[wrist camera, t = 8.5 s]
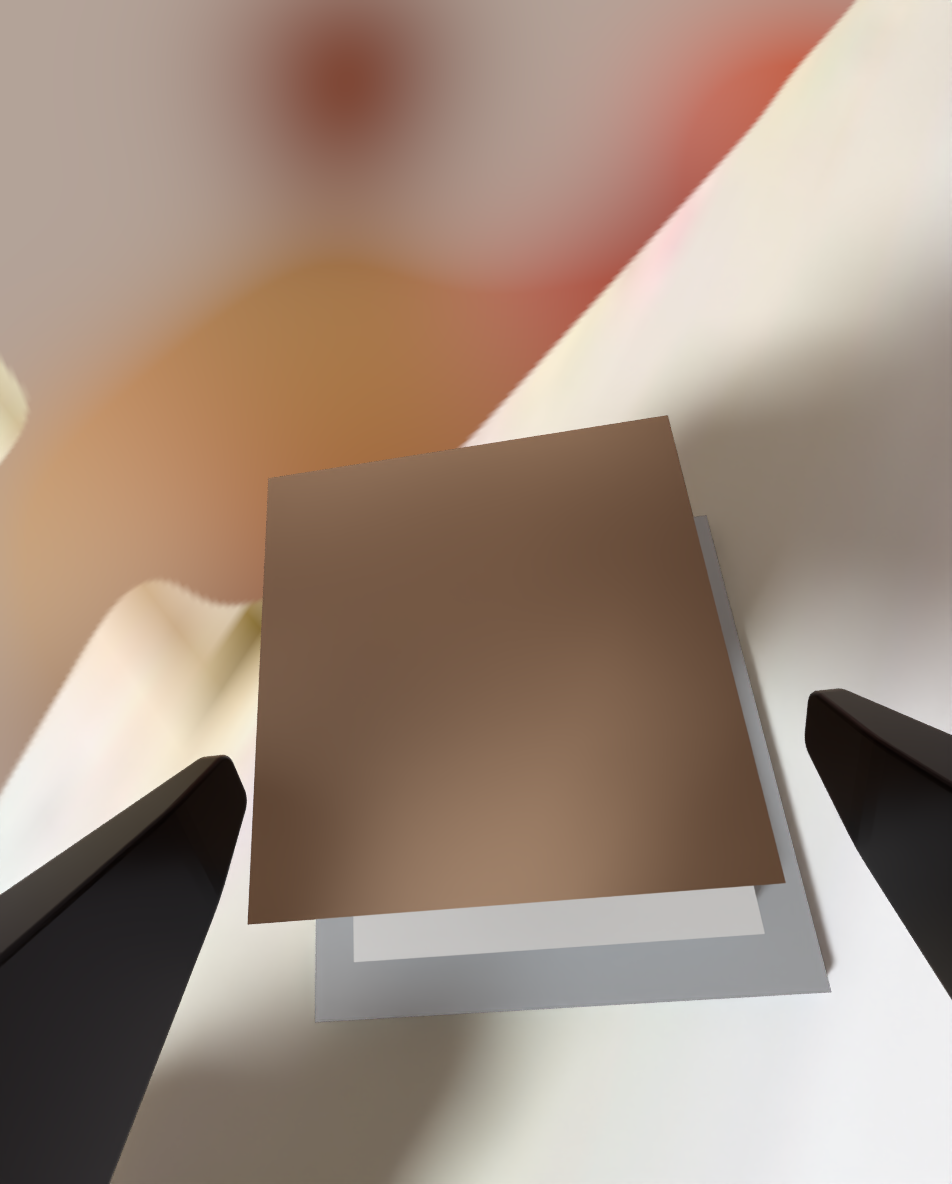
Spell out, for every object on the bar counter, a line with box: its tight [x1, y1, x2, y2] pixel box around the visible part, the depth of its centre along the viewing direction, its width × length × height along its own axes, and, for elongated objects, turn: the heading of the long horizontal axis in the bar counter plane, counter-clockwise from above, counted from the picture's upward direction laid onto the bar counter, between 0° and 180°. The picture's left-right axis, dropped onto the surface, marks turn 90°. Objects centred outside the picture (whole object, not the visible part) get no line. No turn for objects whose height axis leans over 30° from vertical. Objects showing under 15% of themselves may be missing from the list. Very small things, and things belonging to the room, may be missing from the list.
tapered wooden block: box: [248, 415, 786, 924], centre depth 12 cm, size 5×5×12 cm
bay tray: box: [315, 515, 831, 1022], centre depth 17 cm, size 14×14×2 cm
